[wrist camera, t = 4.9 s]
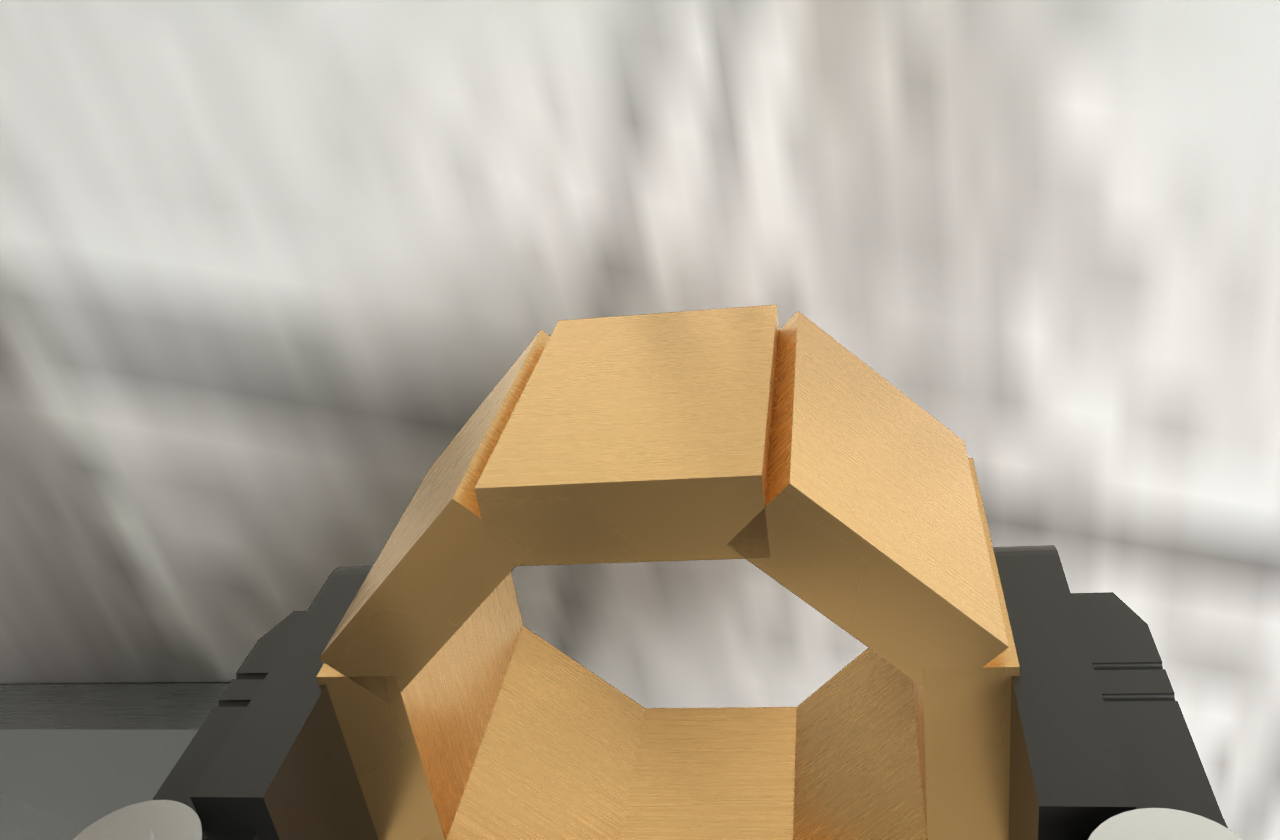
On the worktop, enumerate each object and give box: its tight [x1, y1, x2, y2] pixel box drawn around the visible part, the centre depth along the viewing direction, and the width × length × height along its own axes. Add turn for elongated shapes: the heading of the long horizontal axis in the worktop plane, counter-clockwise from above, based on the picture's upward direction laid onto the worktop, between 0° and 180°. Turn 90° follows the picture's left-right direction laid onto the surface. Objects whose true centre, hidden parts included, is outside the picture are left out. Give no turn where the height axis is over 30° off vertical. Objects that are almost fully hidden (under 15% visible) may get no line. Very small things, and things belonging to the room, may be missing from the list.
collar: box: [316, 305, 1020, 840], centre depth 12 cm, size 6×6×4 cm
